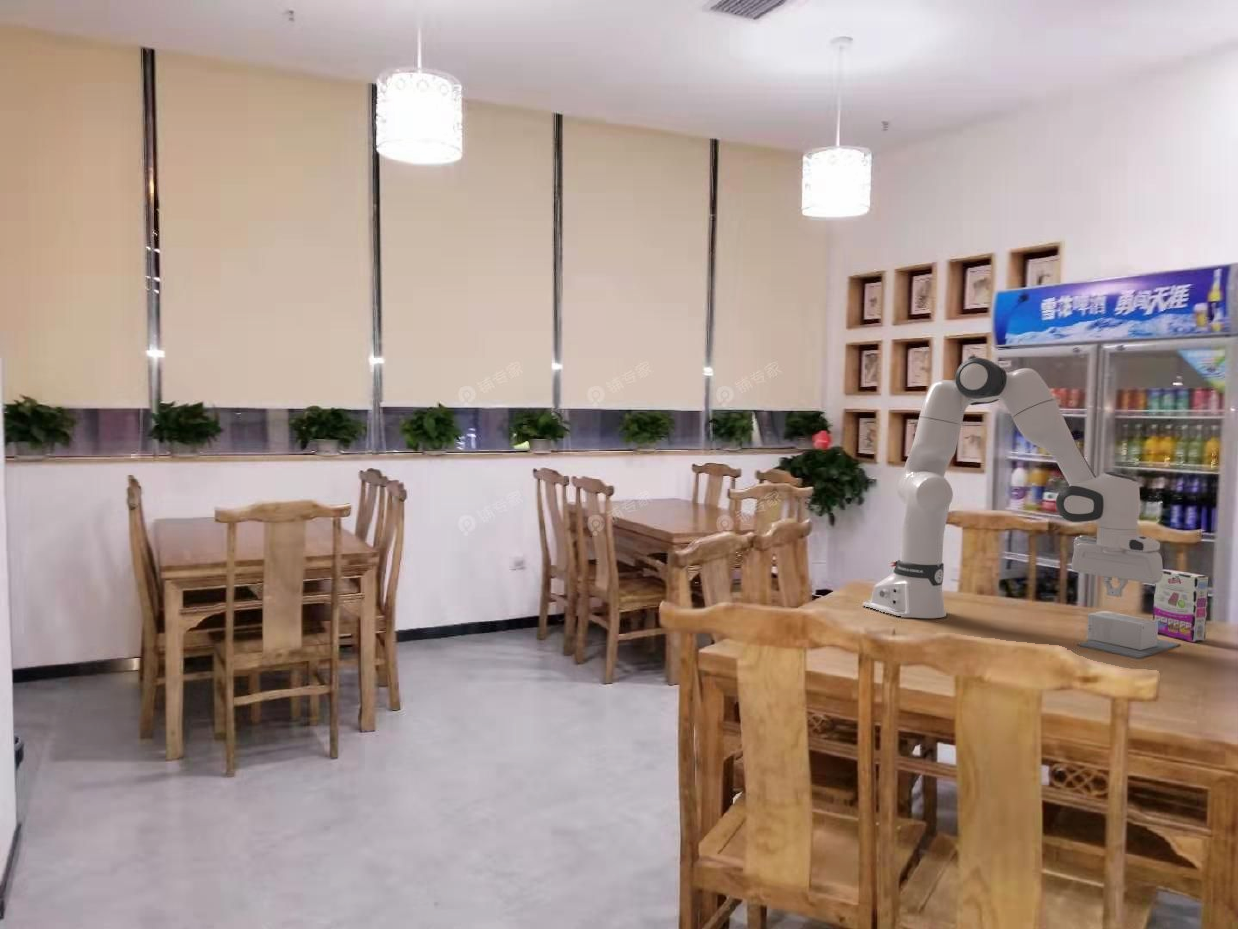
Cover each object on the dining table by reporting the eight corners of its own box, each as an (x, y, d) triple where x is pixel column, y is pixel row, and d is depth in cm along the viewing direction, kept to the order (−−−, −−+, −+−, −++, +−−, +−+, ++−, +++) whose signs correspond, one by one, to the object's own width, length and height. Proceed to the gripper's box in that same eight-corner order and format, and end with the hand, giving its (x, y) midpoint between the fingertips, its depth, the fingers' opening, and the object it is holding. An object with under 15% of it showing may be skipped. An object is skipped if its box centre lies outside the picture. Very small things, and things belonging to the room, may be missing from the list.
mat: (1077, 645, 223) (1077, 643, 223) (1120, 633, 236) (1120, 631, 236) (1138, 658, 212) (1138, 657, 212) (1180, 645, 225) (1180, 643, 225)
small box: (1085, 639, 228) (1140, 650, 217) (1087, 613, 228) (1141, 623, 217) (1103, 635, 233) (1157, 646, 222) (1104, 610, 232) (1159, 620, 222)
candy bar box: (1206, 641, 230) (1210, 575, 229) (1192, 643, 228) (1196, 576, 227) (1164, 631, 240) (1168, 568, 239) (1150, 632, 238) (1154, 569, 237)
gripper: (1068, 535, 232) (1065, 590, 233) (1155, 545, 216) (1152, 604, 217) (1080, 533, 236) (1077, 587, 237) (1167, 543, 220) (1164, 601, 221)
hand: (1114, 595), depth 227 cm, fingers closed
